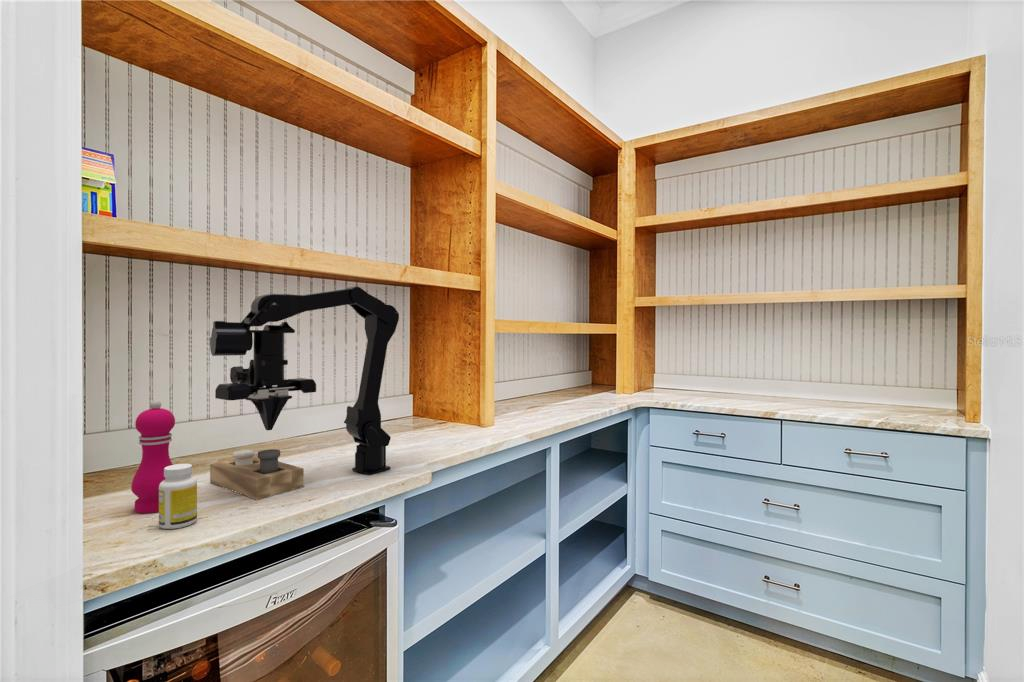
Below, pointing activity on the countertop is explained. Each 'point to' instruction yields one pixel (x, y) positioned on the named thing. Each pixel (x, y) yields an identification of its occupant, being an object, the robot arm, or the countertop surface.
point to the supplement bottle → (177, 497)
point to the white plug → (243, 457)
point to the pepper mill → (152, 456)
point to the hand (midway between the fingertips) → (268, 430)
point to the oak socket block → (256, 478)
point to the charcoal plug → (268, 460)
